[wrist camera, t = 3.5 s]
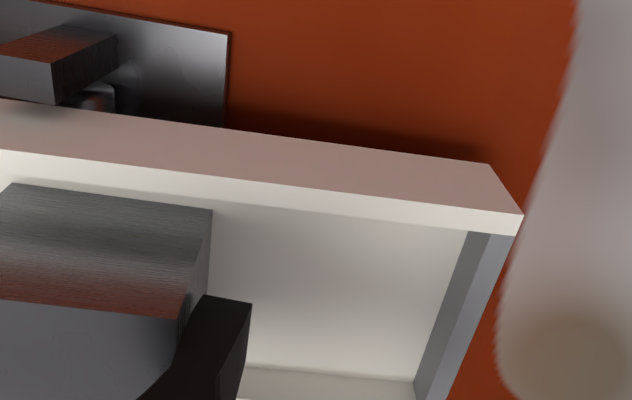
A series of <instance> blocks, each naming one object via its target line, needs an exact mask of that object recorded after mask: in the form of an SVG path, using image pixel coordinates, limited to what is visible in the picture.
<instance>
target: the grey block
mask: <svg viewBox="0 0 632 400" xmlns="http://www.w3.org/2000/svg"><path fill="white" fill-rule="evenodd" d="M212 217H213V210H212V209H205V208H198V207H190V206H183V205H176V204H168V203H161V202H153V201H146V200H139V199H131V198H124V197H117V196H109V195H102V194H94V193H87V192H80V191H72V190H65V189H57V188H50V187H43V186H35V185H28V184H21V183H13V182H12V183H11V184H10V185H9V186H7V187H6V188H5V189H4V190H3V191H2V192H1V193H0V400H136V399H137V398H138V397H139V396H140V395H142V394H143V393H144V392H145V391H146V390H147V389H148V388H149V387H150V386H151V385H152V384H153V383H154V382H155V381H156V380H157V379H158V378H159V377H160V376H161V375H162V374H163V373H164V372H165V371H166V370H167V369H168V368H169V367H170V365H171V363H172V360H173V358H174V355H175V353H176V350H177V347H178V345H179V342H180V339H181V337H182V334H183V332H184V329H185V326H186V324H187V321H188V319H189V316H190V314H191V312H192V311H193V309H194V307H195V306H196V304H197V303H198V301H199V300H200V298H201V297H202V295H203V294H205V295H207V287H208V273H209V259H210V245H211V231H212Z"/></svg>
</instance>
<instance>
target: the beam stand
mask: <svg viewBox="0 0 632 400" xmlns="http://www.w3.org/2000/svg"><path fill="white" fill-rule="evenodd" d="M230 38H231V32H226V31H220V30H214V29H209V28H203V27H197V26H191V25H186V24H180V23H174V22H169V21H163V20H157V19H151V18H146V17H140V16H134V15H129V14H123V13H117V12H111V11H106V10H100V9H94V8H89V7H83V6H77V5H71V4H66V3H60V2H54V1H49V0H0V98H1V99H8V100H16V101H23V102H31V103H38V104H46V105H53V106H60V107H68V108H75V109H83V110H90V111H98V112H105V113H112V114H120V115H127V116H135V117H142V118H150V119H157V120H164V121H172V122H179V123H187V124H194V125H202V126H209V127H216V128H224V129H225V122H226V106H227V89H228V72H229V55H230Z"/></svg>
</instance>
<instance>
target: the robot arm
mask: <svg viewBox="0 0 632 400" xmlns="http://www.w3.org/2000/svg"><path fill="white" fill-rule="evenodd" d="M252 304H253V303H248V302H242V301H237V300H232V299H227V298H221V297H216V296H211V295H205V294H203V295H202V297H201V298H200V300H199V301H198V303H197V304H196V306H195V307H194V309H193V311H192V312H191V314H190V316H189V319H188V321H187V324H186V326H185V329H184V332H183V334H182V337H181V339H180V342H179V345H178V347H177V350H176V353H175V355H174V358H173V360H172V363H171V365H170V367H169V368H168V369H167V370H166V371H165V372H164V373H163V374H162V375H161V376H160V377H159V378H158V379H157V380H156V381H155V382H154V383H153V384H152V385H151V386H150V387H149V388H148V389H147V390H146V391H145V392H144V393H143V394H142V395H140V396H139V397H138V398H137V399H136V400H236V397H237V393H238V389H239V385H240V381H241V377H242V373H243V369H244V366H245V362H246V355H247V346H248V338H249V329H250V321H251V313H252Z"/></svg>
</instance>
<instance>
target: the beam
mask: <svg viewBox="0 0 632 400" xmlns="http://www.w3.org/2000/svg"><path fill="white" fill-rule="evenodd" d="M12 182H13V183H21V184H28V185H35V186H43V187H50V188H57V189H65V190H72V191H80V192H87V193H94V194H102V195H109V196H117V197H124V198H131V199H139V200H146V201H153V202H161V203H168V204H176V205H183V206H190V207H198V208H205V209H212V210H213V217H212V231H211V245H210V259H209V273H208V287H207V295H211V296H216V297H221V298H227V299H232V300H237V301H242V302H248V303H253V304H252V313H251V321H250V329H249V338H248V346H247V355H246V362H245V366H244V369H243V373H242V377H241V381H240V385H239V389H238V393H237V397H236V400H446V398H447V396H448V394H449V391H450V389H451V387H452V384H453V382H454V379H455V377H456V375H457V372H458V370H459V368H460V365H461V363H462V361H463V358H464V356H465V354H466V351H467V349H468V347H469V344H470V342H471V340H472V337H473V335H474V333H475V330H476V328H477V325H478V323H479V321H480V318H481V316H482V314H483V311H484V309H485V307H486V304H487V302H488V300H489V297H490V295H491V293H492V290H493V288H494V286H495V283H496V281H497V279H498V276H499V274H500V271H501V269H502V267H503V264H504V262H505V260H506V257H507V255H508V253H509V250H510V248H511V246H512V243H513V241H514V239H515V236H516V234H517V232H518V229H519V227H520V225H521V222H522V220H523V217H524V214H523V213H522V211H521V210H520V208H519V207H518V206H517V204H516V203H515V201H514V200H513V198H512V197H511V195H510V194H509V193H508V191H507V190H506V188H505V187H504V185H503V184H502V182H501V181H500V180H499V178H498V177H497V175H496V174H495V172H494V171H493V170H492V168H491V167H490V165H489V164H484V163H477V162H469V161H462V160H454V159H447V158H439V157H432V156H425V155H417V154H410V153H402V152H395V151H387V150H380V149H373V148H365V147H358V146H350V145H343V144H335V143H328V142H321V141H313V140H306V139H298V138H291V137H283V136H276V135H268V134H261V133H254V132H246V131H239V130H231V129H224V128H216V127H209V126H202V125H194V124H187V123H179V122H172V121H164V120H157V119H150V118H142V117H135V116H127V115H120V114H112V113H105V112H98V111H90V110H83V109H75V108H68V107H60V106H53V105H46V104H38V103H31V102H23V101H16V100H8V99H1V98H0V193H1V192H2V191H3V190H4V189H5V188H6V187H7V186H9V185H10V184H11V183H12Z"/></svg>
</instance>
